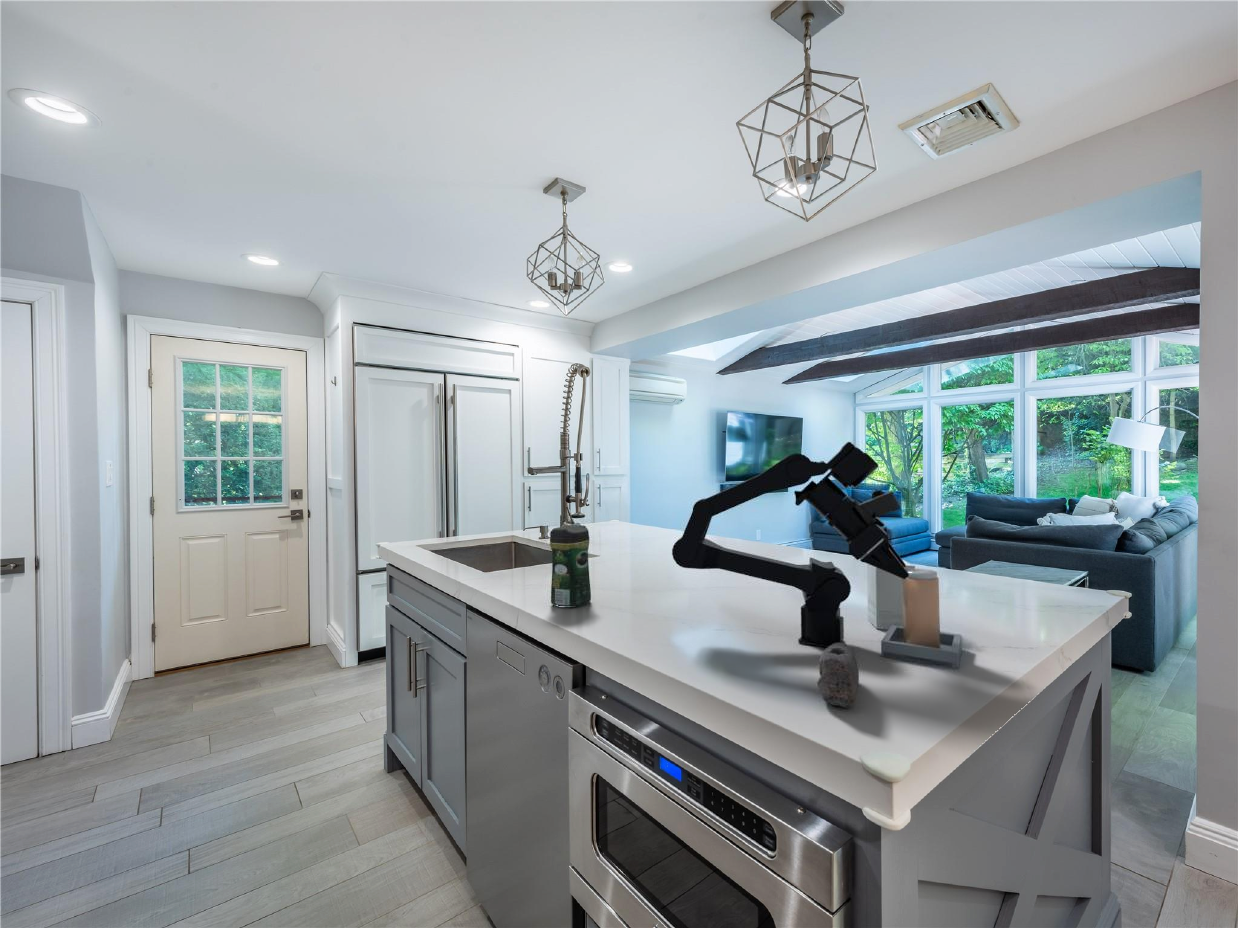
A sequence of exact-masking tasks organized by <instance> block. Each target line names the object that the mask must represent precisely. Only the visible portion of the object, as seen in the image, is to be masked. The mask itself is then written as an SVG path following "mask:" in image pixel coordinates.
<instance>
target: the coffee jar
mask: <svg viewBox="0 0 1238 928" xmlns="http://www.w3.org/2000/svg"><path fill="white" fill-rule="evenodd" d="M549 546H550V550H551V556H552V558H551V559H552V561H551V562H552V564H551V584H550V585H551V589H550V603H551V604H552V605H553V604H555V605H558V606H577V607H579V606H578V605H580V604H582V605H585V604H587V603H589V602H590V601H591V600H592V590H591V589H592V588H591V579H590V567H589V566H590V565H589V547H590V531H589V528H587V526H586V525H578V524H570V525H569V524H568V525H563V526H559V527H558V526H557V527H555V528H552V530H550V532H549ZM588 601H589V602H588ZM584 603H585V604H584ZM555 605H554V606H555ZM580 606H581V605H580Z"/></svg>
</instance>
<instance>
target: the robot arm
mask: <svg viewBox="0 0 1238 928" xmlns="http://www.w3.org/2000/svg"><path fill="white" fill-rule="evenodd" d="M878 468H879V464H878V463H877V462H876V461H875V460H874V459H873V458H872V457H871V455H869V453H867V452H864V451H862V449H860V448H859V447H857V446H855V444H853V443H852V442H851V441H847V442H846V443H845V444H844V445H842V447H841V448H840V449H839V451H838V452H837V453H836V454H835V455H834V456H833V457H831V459H829V460H828V462H825V461H824V460H820V461H813V460H812V461H811V459H810V458H809V457H808V456H807V455H804V454H802V453H799V452H798V453H792V454H789V455H787V456H785V457H783V458H782V459H781V460H779V461H777V462H776V463H775V464H773V465H772V466H770V467H769V468H767V469H766V470H764V471H763V472H762V473H760V474H758V475H756V476H754V477H751V478H749V479H747V480H745V481H742V482H740V483H738V484H736V485H733V486H731V487H729V488H726V489H725V490H722V491H720V492H717V493H716V494H713V495H711V496H709V497H706V498H705V497H704V498H701V499H699V500H698V501H696V502H695V503H694V504H693V507H692V511H691V514H690V516H689V520H688V522H687V525H686V527H685V529H684V531H683V534H682V536H681V537H679V539H677V540H676V541H675V543H674V544H673V546H672V549H671V551H672V552H671V555H672V559H673V560H674V562H675V563H676V564H677V566H679V567H681V568H684V569H693V570H694V569H696V570H716V569H718V570H722V571H723V570H724V571H727V572H732V573H736V574H740V575H744V576H748V577H751V578H757V579H760V580H764V581H769V582H773V583H777V584H782V585H784V586H789V587H794V588H795V589H798V590H800V591H802V593H801V594H802V596H803V600H804V604H802V605H801V606H800V637H799V638H798V639H797V641H798V643H800V644H804V645H805V644H806V645H811V646H816V647H817V646H818V647H823V648H828V647H829V646H830V645H832V644H834V643H838V642H841V643H843V642H842V641H844V639H845V631H844V630H845V627H844V626H845V625H844V624H845V623H844V621H845V620H844V617H843V616H842V615H841V607H840V606H841V604H842V603H843V602H844V601H847V599H848V598H849V597H850V594H851V591H852V590H851V589H852V586H851V584H850V582H851V581H849V578H847V576H846V574H845V573H844V572H843V571H842V570H841V568H839V567H837V566H835V564H834V562H832V561H822V560H821V561H820V560H819V559H817V558H815V557H809V563H808V564H796V563H791V562H786V561H783V560H778V559H774V558H770V557H765V556H761V555H757V554H754V553H753V554H752V553H749V552H744V551H739V550H735V549H731V548H727V547H723V546H721V545H719V544H718V543H716V542H714V541H712V540H710V539H707V538H706V536H707V533H708V531H709V527H710V525H711V521H712V518H713V517H715V516H717V515H719V514H721V513H723V512H726V511H728V510H730V509H733V508H736V507H737V506H740V505H742V504H744V503H746V502H749V501H751V500H753V499H755V498H758V497H761V496H763V495H765V494H767V493H772V492H775V491H780V490H781V491H782V490H785V489H790V488H792V487H798V486H801V485H805V484H806V483H807V482H809V481H810V480H811V478H813V477H817V476H818V477H819V476H822V475H823V476H824V475H825V474H826V473H827V474H826V475H825V476H824V477H822V479H820V481H818V482H817V483H816V482H815V481H814V480H811V481H810V482H809V483H808V484H806V486H805V487H803V488H802V489H801V490H794V492H793V493H794V496H795V501H794V504H795V506H800V505H802V504H803V503H804V501H806V502H807V503H808V504H809V505H810V506H811V507H812V508H813V509H815V511H816V512H817V513H819V515H821V516H822V517H823V518H824V519H825V520H826V521H827V524H828V525H829V526H830V527H831V528H832V527H833V528H834V529H835V530H837V532H838V533H839V534H840V535H841V536H842V537H844V539H845V542H846V543H848V553H849V554H851V556H852V557H854V559H855V560H857V561H860V562H861V563H865V564H866V565H867V564H869V565H872V566H874V567H877V568H879V569H882V570H884V571H886V572H889V573H891V574H893V575H896V576H898V577H900V578H902V579H906V578H907V577H908V576H909V574H908V572H907V571H906V570H905V568H904V567H905V566H906V564H905V563H904V562H903V560H904V559H902V558H901V556H900V555H899V554H898V552H897V551H896V549H895V548H894V547H893V545H892V544H891V543H890V537H889V534H888V530H887V529H888V527H887V526H885V523H884V522H883V521H882V519H880V518H879V517H881V516H883V515H886V514H888V513H890V512H893V513H894V512H896V511H899V510H901V509H902V508H901V507H902V506H901V504H900V503H899V501H898V499H897V497H896V496H895V495H896V494H894V491H893V490H890V491H887V492H884V491H883V490H882V489H880V488H879V489H877V490H874V491H872V492H871V498H870V499H868V500H866V501H863V502H862V503H860V502H859V501H858V500H857V499H856V498H855V499H853V498H851V497H850V496H849V495H848V494H847V493H845V492H844V491H843V490H842V489H841V488H840V487H839V486H838V485H837V484H836V483H835V482H834V481H832V480H831V478H830V477H832V478H833V479H834V480H835V481H837V483H838V484H839V485H841V487H843V488H844V489H848V488H849V487H850V488H851V487H852V488H853V489H856V488H857V487H859V486H860V485H861V484H862V483H863V482H865V480H867V478H868V477H869V476H870V475H872V474H873V473H874V472H875V471H876V470H877V469H878ZM828 471H829V472H828Z"/></svg>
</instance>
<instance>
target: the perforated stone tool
mask: <svg viewBox="0 0 1238 928" xmlns="http://www.w3.org/2000/svg"><path fill="white" fill-rule="evenodd" d="M819 659H820V660H819V663H818V664H819V665H818V667H819V668H818V669H819V675H820V676H819V679H818V680H817V687H818V691H819V693H820V695H821V696H822V699H823V701H824V702H825V703H827V704H830V705H831V706H836V707H842V708H850V707H851V706H852V705H853V704H854V702H855V700H856V698H857V694H858V690H859V682H860V672H859V671H860V669H859V663H858V660H857V656H856V654H855V652H854V650H852V648H851V647H850V646H849V645H848V644H847V643H844V642H838V643H834V644H832V645H830V646H829V647H826V648H825V650H824V651H823V652H822V653H821V657H820V658H819Z"/></svg>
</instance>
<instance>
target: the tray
mask: <svg viewBox="0 0 1238 928" xmlns="http://www.w3.org/2000/svg"><path fill="white" fill-rule="evenodd" d="M962 643H963V641H962V634H959V633H951V632H944V631H940V648H934V647H928V646H921V645H914V644H908V643H904V635H903V627H901V626H894V625H891V627H890V628H889V630H888V629H887V632H886V633H885V635H884V636H883V638H882V640H881V641H880V645H881V647H880V650H881V651H880V653H881V654H880V655H881V657H885V658H890V659H891V658H892V659H897V660H903V661H909V662H915V663H921V664H927V665H934V666H938V667H945V668H950V669H956V670H958V669H959V665H960V659H961V655H962V654H961V653H962V650H963V648H962V647H963V645H962Z"/></svg>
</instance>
